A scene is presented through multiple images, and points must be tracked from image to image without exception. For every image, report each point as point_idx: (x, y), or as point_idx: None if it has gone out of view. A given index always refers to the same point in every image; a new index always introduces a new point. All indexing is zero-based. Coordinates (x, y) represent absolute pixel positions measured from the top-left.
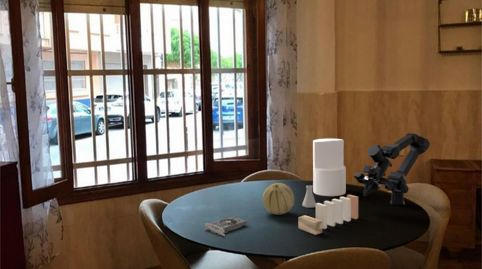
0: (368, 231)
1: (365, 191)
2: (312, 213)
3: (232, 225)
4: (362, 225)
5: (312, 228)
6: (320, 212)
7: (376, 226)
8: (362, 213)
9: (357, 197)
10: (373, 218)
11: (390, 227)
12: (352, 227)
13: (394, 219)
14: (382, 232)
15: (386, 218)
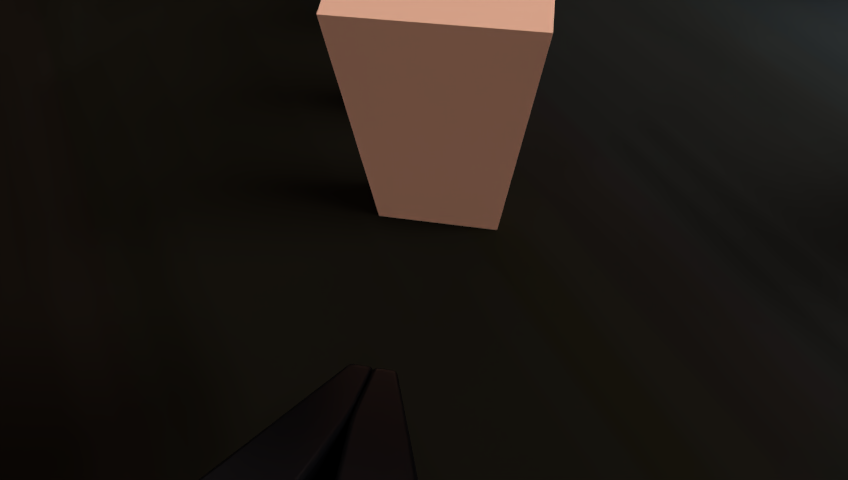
0: (164, 18)
1: (336, 429)
2: (807, 75)
3: None
4: (255, 89)
5: None
6: None
7: (140, 135)
8: (435, 408)
9: (325, 8)
10: (243, 318)
11: (18, 185)
12: (303, 15)
13: (12, 446)
14: (61, 58)
15: (109, 418)
